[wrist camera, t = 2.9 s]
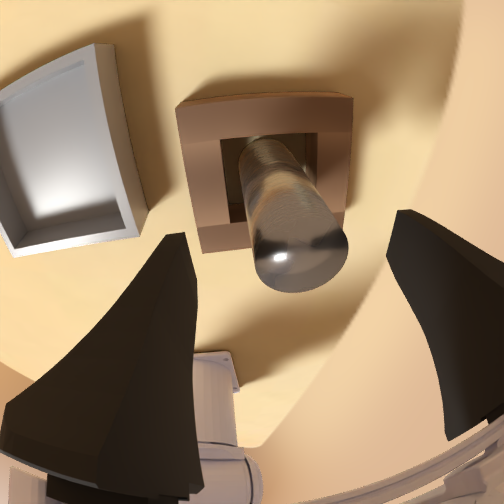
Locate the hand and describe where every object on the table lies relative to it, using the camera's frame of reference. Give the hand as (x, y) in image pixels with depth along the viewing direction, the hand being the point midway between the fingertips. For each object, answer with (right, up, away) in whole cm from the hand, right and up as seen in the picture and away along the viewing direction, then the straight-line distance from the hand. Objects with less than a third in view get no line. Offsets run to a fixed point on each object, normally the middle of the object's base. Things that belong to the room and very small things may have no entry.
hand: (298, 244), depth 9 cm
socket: (-1, +5, +6) cm, 7 cm away
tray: (-13, +5, +3) cm, 14 cm away
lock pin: (-1, +5, +6) cm, 7 cm away
